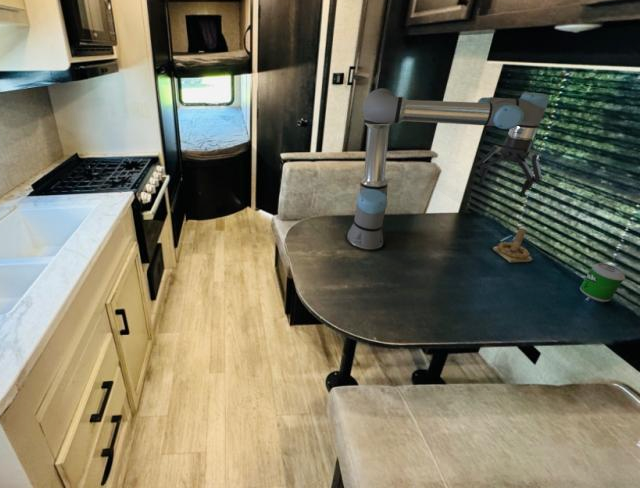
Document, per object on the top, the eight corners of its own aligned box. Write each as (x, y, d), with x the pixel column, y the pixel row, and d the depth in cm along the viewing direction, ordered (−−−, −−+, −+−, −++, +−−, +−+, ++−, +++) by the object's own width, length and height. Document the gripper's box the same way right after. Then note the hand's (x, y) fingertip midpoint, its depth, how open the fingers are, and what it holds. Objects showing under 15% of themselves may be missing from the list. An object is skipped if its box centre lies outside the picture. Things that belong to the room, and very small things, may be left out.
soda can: (612, 298, 109) (630, 271, 104) (604, 306, 106) (622, 279, 101) (582, 285, 115) (598, 259, 110) (574, 292, 112) (590, 266, 106)
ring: (490, 245, 135) (492, 241, 134) (513, 244, 136) (515, 240, 135) (511, 260, 126) (512, 256, 125) (535, 259, 126) (537, 255, 126)
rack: (492, 249, 135) (503, 222, 130) (512, 248, 136) (523, 221, 130) (510, 262, 127) (522, 234, 121) (531, 261, 128) (544, 233, 122)
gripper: (477, 131, 122) (461, 181, 131) (562, 147, 103) (537, 204, 112) (485, 128, 126) (469, 177, 135) (569, 143, 107) (544, 198, 116)
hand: (500, 189), depth 123 cm, fingers open, 13 cm apart
